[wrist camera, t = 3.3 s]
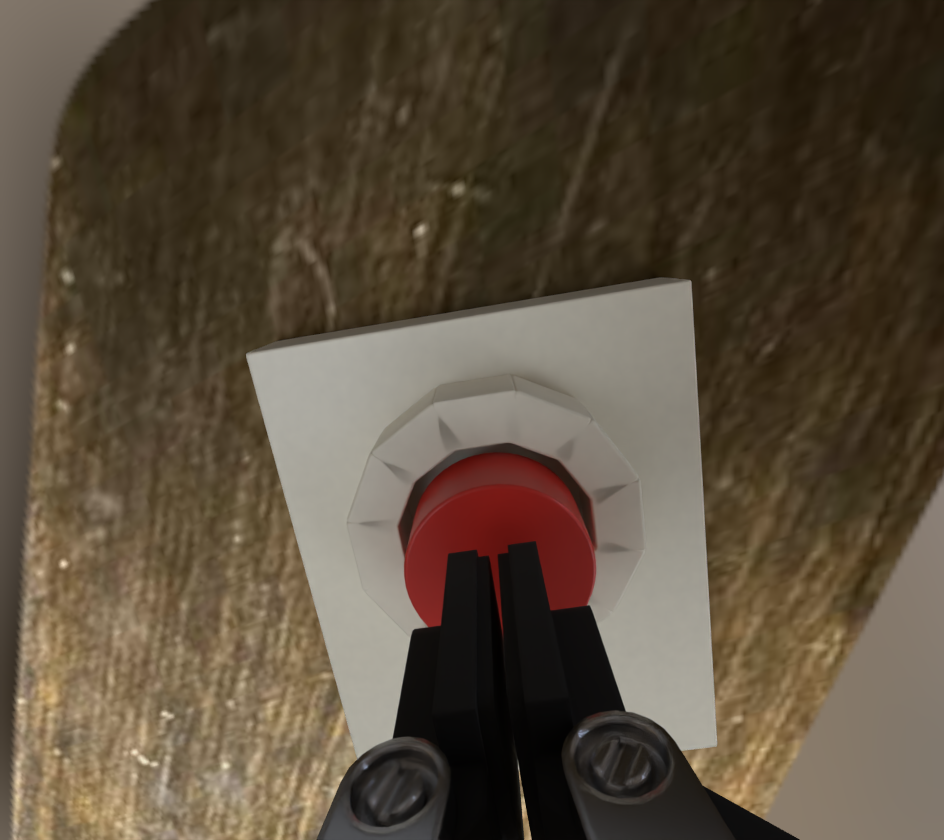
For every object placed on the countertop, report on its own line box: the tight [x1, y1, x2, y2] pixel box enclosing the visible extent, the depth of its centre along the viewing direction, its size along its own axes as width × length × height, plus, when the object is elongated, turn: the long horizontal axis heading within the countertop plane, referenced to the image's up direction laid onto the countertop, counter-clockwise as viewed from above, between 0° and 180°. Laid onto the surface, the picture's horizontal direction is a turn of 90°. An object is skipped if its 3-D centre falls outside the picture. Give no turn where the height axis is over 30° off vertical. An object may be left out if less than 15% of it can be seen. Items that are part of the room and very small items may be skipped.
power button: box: [404, 452, 596, 633], centre depth 13 cm, size 4×4×2 cm
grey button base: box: [246, 277, 717, 771], centre depth 16 cm, size 14×11×4 cm
